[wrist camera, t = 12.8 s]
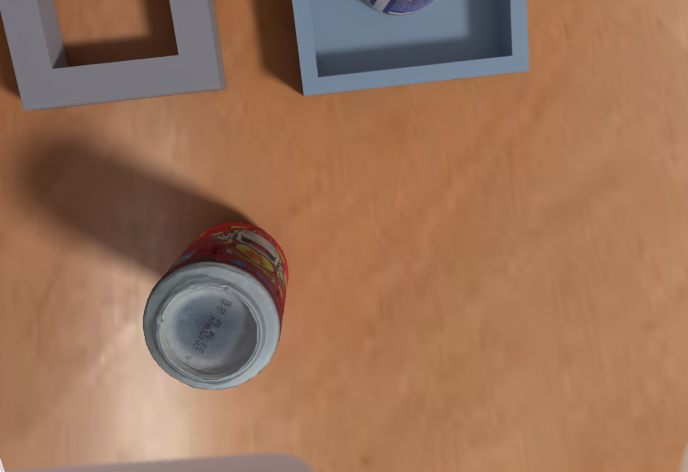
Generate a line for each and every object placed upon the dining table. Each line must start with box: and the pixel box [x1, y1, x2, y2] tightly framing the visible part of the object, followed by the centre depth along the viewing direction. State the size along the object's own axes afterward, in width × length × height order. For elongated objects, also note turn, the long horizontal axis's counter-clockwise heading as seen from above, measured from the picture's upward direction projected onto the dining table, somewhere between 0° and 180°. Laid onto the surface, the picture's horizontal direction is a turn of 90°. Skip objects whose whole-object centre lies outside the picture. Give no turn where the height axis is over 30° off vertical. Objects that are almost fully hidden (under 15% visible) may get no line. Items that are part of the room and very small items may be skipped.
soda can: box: [143, 222, 288, 390], centre depth 35 cm, size 7×7×12 cm
